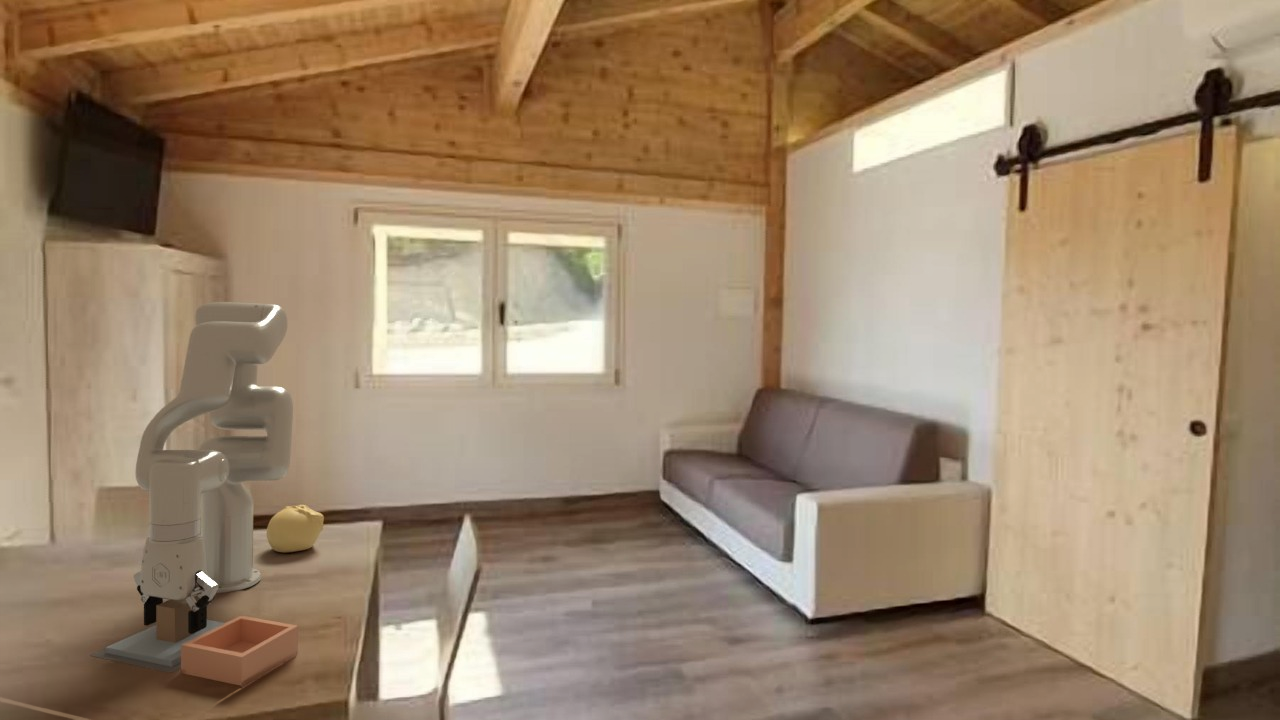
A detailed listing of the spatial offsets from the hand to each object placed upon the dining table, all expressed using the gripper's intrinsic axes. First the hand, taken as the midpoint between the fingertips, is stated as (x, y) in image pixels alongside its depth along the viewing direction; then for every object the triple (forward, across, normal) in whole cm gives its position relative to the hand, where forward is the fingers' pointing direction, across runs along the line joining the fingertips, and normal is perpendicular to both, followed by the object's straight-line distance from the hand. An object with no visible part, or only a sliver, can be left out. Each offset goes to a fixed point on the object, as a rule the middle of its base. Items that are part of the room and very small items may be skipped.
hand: (175, 626), depth 125 cm
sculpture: (+3, -17, +48) cm, 51 cm away
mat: (+3, 0, 0) cm, 3 cm away
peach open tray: (+3, +16, -2) cm, 16 cm away
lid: (+3, 0, 0) cm, 3 cm away
